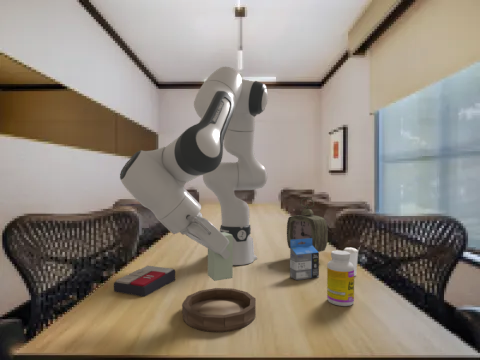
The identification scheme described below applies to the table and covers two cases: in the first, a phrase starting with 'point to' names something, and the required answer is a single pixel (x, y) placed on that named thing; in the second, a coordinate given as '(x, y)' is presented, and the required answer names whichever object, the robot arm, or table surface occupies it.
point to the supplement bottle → (340, 279)
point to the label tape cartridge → (303, 259)
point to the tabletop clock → (308, 228)
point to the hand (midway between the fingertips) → (222, 253)
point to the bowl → (219, 309)
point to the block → (221, 262)
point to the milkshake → (353, 257)
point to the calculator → (144, 281)
